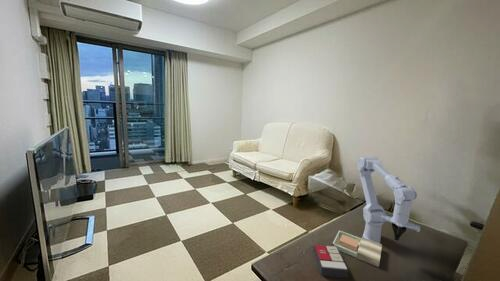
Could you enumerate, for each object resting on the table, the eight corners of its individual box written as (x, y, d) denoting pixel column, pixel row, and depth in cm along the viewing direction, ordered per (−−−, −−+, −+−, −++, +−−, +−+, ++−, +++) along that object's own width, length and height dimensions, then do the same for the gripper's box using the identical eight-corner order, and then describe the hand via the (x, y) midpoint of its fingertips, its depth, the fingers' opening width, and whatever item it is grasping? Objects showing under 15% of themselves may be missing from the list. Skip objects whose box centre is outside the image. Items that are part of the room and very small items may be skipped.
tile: (341, 238, 108) (342, 234, 108) (358, 245, 104) (359, 240, 103) (338, 244, 104) (339, 240, 103) (356, 251, 99) (357, 247, 99)
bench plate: (360, 242, 107) (361, 237, 106) (381, 249, 102) (382, 244, 101) (356, 257, 96) (357, 252, 95) (378, 267, 91) (379, 261, 90)
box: (338, 233, 113) (339, 230, 113) (360, 242, 107) (361, 238, 106) (331, 247, 102) (332, 243, 102) (356, 257, 96) (356, 253, 95)
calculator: (336, 245, 99) (349, 268, 84) (336, 253, 99) (348, 278, 84) (313, 243, 100) (321, 266, 85) (312, 251, 100) (320, 275, 85)
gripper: (382, 210, 94) (377, 237, 96) (422, 222, 86) (416, 250, 88) (383, 204, 100) (378, 230, 102) (421, 215, 91) (415, 242, 94)
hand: (396, 239), depth 95 cm, fingers closed
